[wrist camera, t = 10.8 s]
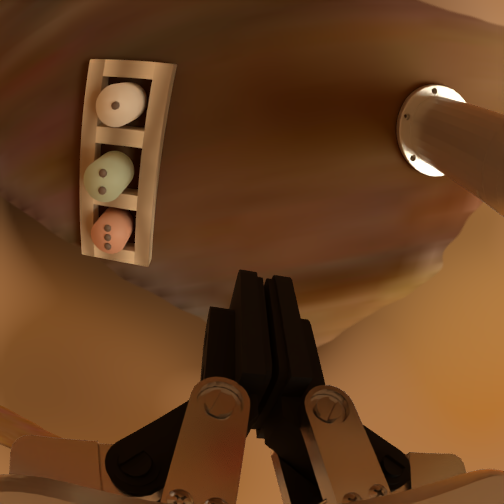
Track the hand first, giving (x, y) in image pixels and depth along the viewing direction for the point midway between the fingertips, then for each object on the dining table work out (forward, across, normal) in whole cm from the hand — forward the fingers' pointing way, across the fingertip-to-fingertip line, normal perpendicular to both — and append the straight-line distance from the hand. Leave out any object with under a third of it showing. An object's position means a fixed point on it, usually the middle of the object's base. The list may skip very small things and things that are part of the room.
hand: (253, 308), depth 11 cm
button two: (+27, +14, +6) cm, 31 cm away
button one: (+29, +14, -2) cm, 32 cm away
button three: (+29, +14, +14) cm, 35 cm away
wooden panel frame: (+29, +14, +6) cm, 33 cm away
